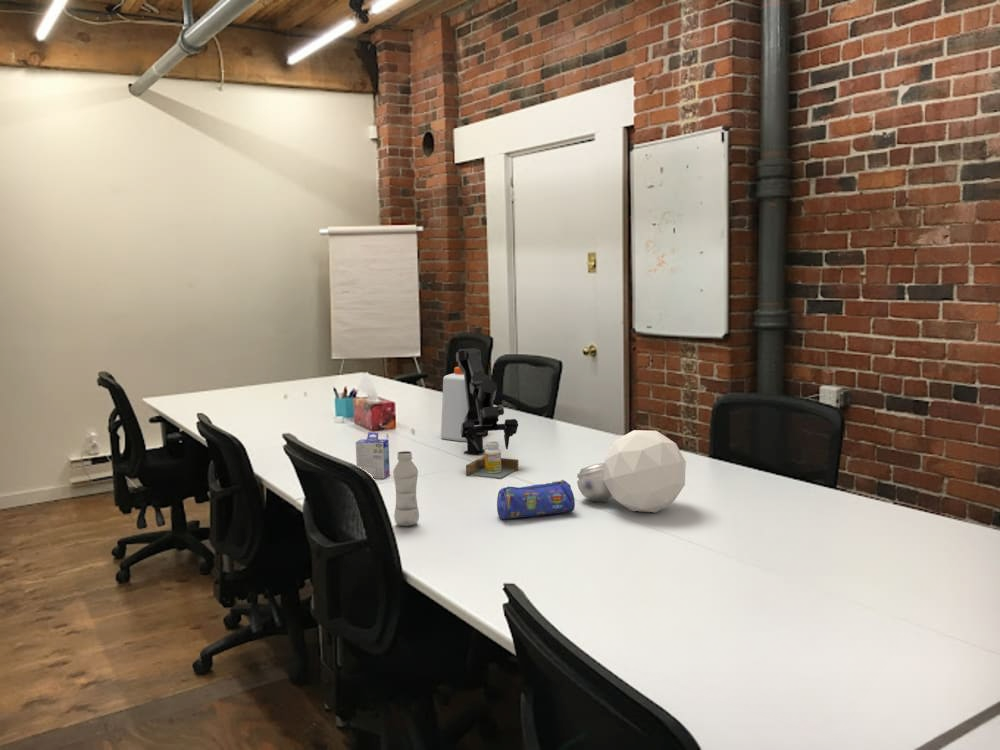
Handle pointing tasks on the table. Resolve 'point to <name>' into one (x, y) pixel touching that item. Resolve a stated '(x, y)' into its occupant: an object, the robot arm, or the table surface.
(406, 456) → the plastic bottle
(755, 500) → the table surface
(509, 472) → the mat
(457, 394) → the plastic bottle
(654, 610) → the table surface
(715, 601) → the table surface
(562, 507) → the pencil case
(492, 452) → the supplement bottle
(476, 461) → the corner walls
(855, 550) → the table surface
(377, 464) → the ink cartridge box
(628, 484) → the lamp
